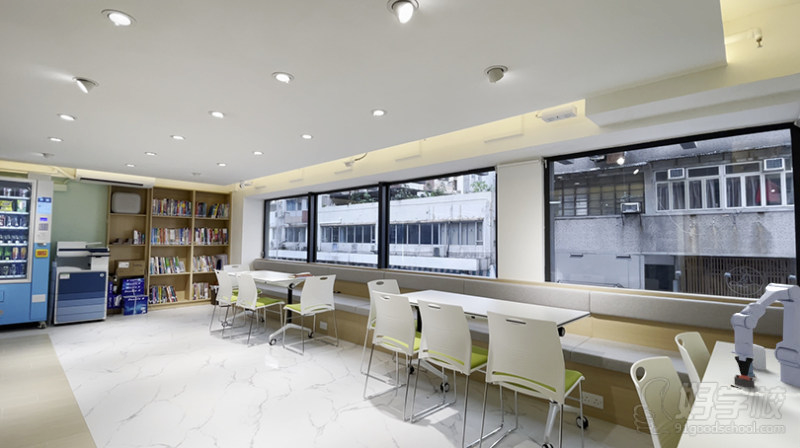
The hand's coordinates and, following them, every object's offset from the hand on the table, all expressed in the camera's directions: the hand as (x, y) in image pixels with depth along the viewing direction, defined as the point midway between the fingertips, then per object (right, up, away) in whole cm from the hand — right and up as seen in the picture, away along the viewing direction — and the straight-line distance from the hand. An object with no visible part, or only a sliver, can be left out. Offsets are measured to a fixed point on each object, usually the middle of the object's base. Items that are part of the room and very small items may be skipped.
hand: (744, 374), depth 158 cm
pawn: (+13, -5, +12) cm, 19 cm away
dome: (0, -4, 0) cm, 4 cm away
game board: (+7, -6, +6) cm, 11 cm away
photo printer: (+28, -8, +26) cm, 39 cm away
